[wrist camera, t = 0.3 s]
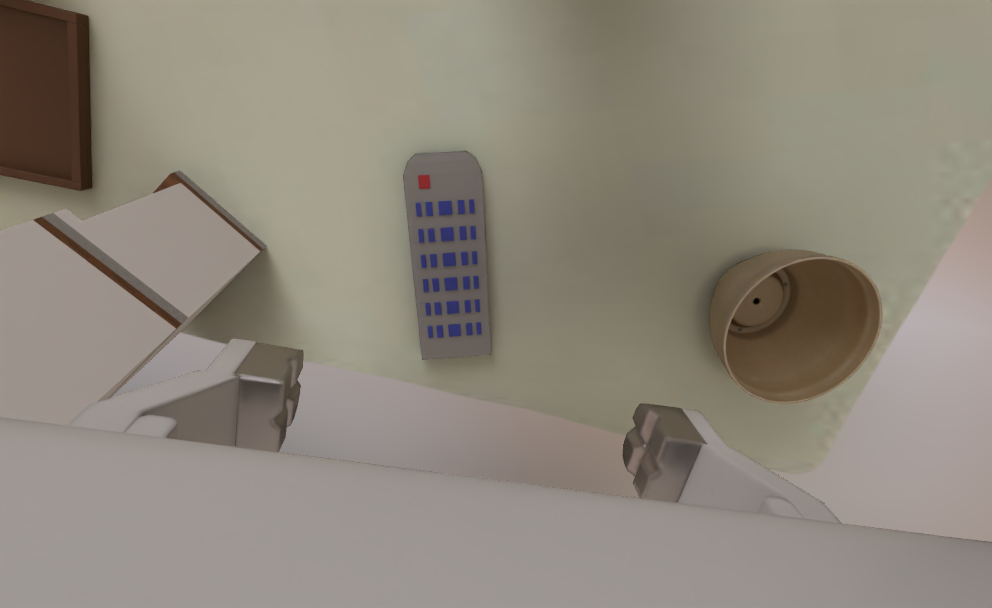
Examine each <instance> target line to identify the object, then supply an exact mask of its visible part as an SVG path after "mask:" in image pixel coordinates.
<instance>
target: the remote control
mask: <svg viewBox="0 0 992 608" xmlns="http://www.w3.org/2000/svg"><path fill="white" fill-rule="evenodd" d="M403 180H404V190H405V200H406V208H407V218H408V229H409V238H410V248H411V258H412V267H413V277H414V287H415V296H416V306H417V316H418V325H419V335H420V345H421V354H422V360H428V359H441V358H454V357H467V356H480V355H491V342H490V323H489V303H488V283H487V262H486V241H485V220H484V203H483V185H482V171H481V168H480V166H479V164H478V162H477V160H476V158H475V157H474V156H472V155H471V154H470V153H469V152H467V151H459V152H440V153H422V154H415V155H414V156H413V157H412V158H411V159H410V160H409V161H408V162H407V165H406V168H405V171H404V174H403Z"/></svg>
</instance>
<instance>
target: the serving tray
mask: <svg viewBox="0 0 992 608" xmlns="http://www.w3.org/2000/svg"><path fill="white" fill-rule="evenodd" d="M0 175H3V176H9V177H14V178H19V179H24V180H29V181H34V182H39V183H44V184H49V185H54V186H59V187H64V188H69V189H74V190H79V191H82V190H85V189H89V188H92V172H91V124H90V77H89V29H88V16H87V15H83V14H79V13H75V12H71V11H67V10H63V9H59V8H54V7H50V6H46V5H42V4H38V3H34V2H30V1H26V0H0Z"/></svg>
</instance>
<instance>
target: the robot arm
mask: <svg viewBox="0 0 992 608" xmlns="http://www.w3.org/2000/svg"><path fill="white" fill-rule="evenodd" d="M303 358H304V353H303V350H300V349H294V348H288V347H282V346H277V345H271V344H265V343H257V342H256V341H249V340H241V339H232V340H231V341H230V342H229V343H228V344H227V345H226V347H225V348H224V349H223V350H222V351H221V353H220V354H219V355H218V356H217V358H216V359H215V360H214V361H213V362H212V364H211V365H210V366H209V367H208V368H207V370H206V371H199V370H198V371H194V372H192V373H188V374H185V375H182V376H178V377H175V378H172V379H169V380H166V381H163V382H159V383H156V384H153V385H150V386H147V387H144V388H140V389H137V390H134V391H131V392H128V393H125V394H121V395H118V396H115V397H112V398H109V399H106V400H102V401H99V402H96V403H93V404H90V405H88V406H87V407H86V408H85V409H83V410H82V411H81V412H80V413H79V414H78V415H77V416H76V417H75V418H74V419H72V420H71V421H70V422H69V423H68V424H67V425H59V424H51V423H43V422H35V421H27V420H19V419H11V418H3V417H0V608H992V542H987V541H978V540H969V539H961V538H952V537H944V536H936V535H929V534H921V533H913V532H905V531H898V530H889V529H882V528H874V527H866V526H858V525H849V524H842V523H841V522H840V521H839V520H838V519H837V517H836V516H835V515H834V514H833V513H832V512H831V511H830V509H829V508H828V507H827V506H826V505H825V504H824V503H823V502H822V501H819V500H818V499H816V498H815V497H813V496H812V495H810V494H808V493H807V492H805V491H803V490H802V489H800V488H798V487H796V486H795V485H793V484H792V483H790V482H788V481H787V480H785V479H784V478H782V477H780V476H779V475H777V474H775V473H774V472H772V471H770V470H769V469H767V468H765V467H764V466H762V465H760V464H759V463H757V462H755V461H754V460H752V459H750V458H749V457H747V456H745V455H744V454H742V453H741V452H739V451H737V450H736V449H734V448H728V447H727V445H726V444H725V443H724V442H723V440H722V439H721V438H720V436H719V435H718V434H717V432H716V431H715V430H714V429H713V427H712V426H711V425H710V423H709V422H708V421H707V420H706V418H705V417H704V416H703V414H702V413H701V412H699V411H697V410H691V409H681V408H676V407H668V406H661V405H653V404H639V406H638V407H637V408H636V410H635V413H634V416H633V420H634V423H635V427H634V428H633V429H631V430H630V431H629V432H628V433H627V435H626V438H625V441H624V444H623V460H624V464H625V467H626V469H627V471H628V472H630V473H631V474H632V475H633V476H635V479H634V481H633V484H634V486H635V489H636V491H637V493H638V495H639V497H640V498H636V497H628V496H620V495H612V494H604V493H596V492H588V491H580V490H572V489H564V488H556V487H549V486H541V485H533V484H524V483H516V482H509V481H501V480H494V479H485V478H477V477H470V476H462V475H454V474H446V473H438V472H430V471H423V470H415V469H407V468H399V467H391V466H384V465H376V464H367V463H360V462H352V461H344V460H336V459H329V458H321V457H312V456H304V455H297V454H289V453H281V452H279V450H280V448H281V446H282V444H283V442H284V439H285V436H286V428H287V427H288V426H290V425H291V423H292V421H293V419H294V416H295V412H296V409H297V405H298V400H299V395H300V387H301V385H300V383H299V382H298V380H297V379H298V377H299V375H300V372H301V370H302V368H303Z"/></svg>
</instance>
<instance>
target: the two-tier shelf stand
mask: <svg viewBox="0 0 992 608" xmlns="http://www.w3.org/2000/svg"><path fill="white" fill-rule="evenodd" d="M265 247H266V245H265V244H264V243H262V242H261V241H260V240H259V239H258V238H257V237H255V236H254V235H253V234H252V233H251V232H250V231H249V230H247V229H246V228H245V227H244V226H243V225H242V224H241V223H239V222H238V221H237V220H236V219H235V218H234V217H233V216H231V215H230V214H229V213H228V212H227V211H226V210H224V209H223V208H222V207H221V206H220V205H219V204H218V203H216V202H215V201H214V200H213V199H212V198H211V197H210V196H208V195H207V194H206V193H205V192H204V191H203V190H201V189H200V188H199V187H198V186H197V185H196V184H195V183H193V182H192V181H191V180H190V179H189V178H188V177H187V176H185V175H184V174H183V173H182V172H181V171H177V172H174V173H171V174H170V175H169V176H168V177H167V178H166V179H165V180H164V181H163V183H162V184H161V185H160V186H159V187H158V188H157V189H156V190H155V191H154V192H153V194H150V195H148V196H145V197H142V198H140V199H137V200H135V201H132V202H129V203H127V204H124V205H121V206H119V207H116V208H114V209H111V210H108V211H106V212H103V213H101V214H98V215H95V216H93V217H90V218H87V219H85V220H82V221H81V220H80V219H79V218H78V217H76V216H75V215H74V214H73V213H71V212H70V211H69V210H67V209H64V210H61V211H58V212H55V213H52V214H49V215H46V216H43V217H40V218H37V219H34V220H31V221H28V222H25V223H22V224H19V225H16V226H13V227H10V228H7V229H4V230H1V231H0V417H3V418H11V419H19V420H27V421H35V422H43V423H51V424H59V425H67V424H68V423H69V422H70V421H71V420H72V419H74V418H75V417H76V416H77V415H78V414H79V413H80V412H81V411H82V410H83V409H85V408H86V407H87V406H88V405H90V404H93V403H96V402H99V401H102V400H106V399H109V398H111V397H112V396H113V395H114V394H115V393H116V392H117V391H118V390H119V389H120V388H122V387H123V386H124V385H125V384H126V383H127V382H128V381H129V380H130V379H131V378H132V377H133V376H134V375H135V374H136V373H137V372H138V371H140V370H141V369H142V368H143V367H144V366H145V365H146V364H147V363H148V362H149V361H150V360H151V359H152V358H153V357H154V356H155V355H156V354H158V352H160V351H161V350H162V349H163V348H164V347H165V346H166V345H167V344H168V343H169V342H170V341H171V340H172V339H173V338H174V337H176V335H178V334H179V333H180V332H181V331H182V330H183V329H184V328H185V327H186V326H187V325H188V324H189V323H190V322H191V321H192V320H194V319H195V318H196V317H197V316H198V315H199V314H200V313H201V312H202V311H203V310H204V309H205V308H206V307H207V306H208V305H209V304H210V303H211V302H212V301H213V300H214V299H215V298H216V296H217V295H218V294H219V293H220V292H221V291H222V290H223V289H224V288H225V287H226V286H227V285H228V284H229V283H230V282H231V281H232V280H233V279H234V278H235V277H236V276H237V275H238V274H239V273H240V272H241V271H242V270H243V269H244V268H245V267H246V266H247V265H248V264H249V263H250V262H251V261H252V260H253V259H254V258H255V257H256V256H257V255H258V254H259V253H260V252H261V251H262V250H263V249H264V248H265Z"/></svg>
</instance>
